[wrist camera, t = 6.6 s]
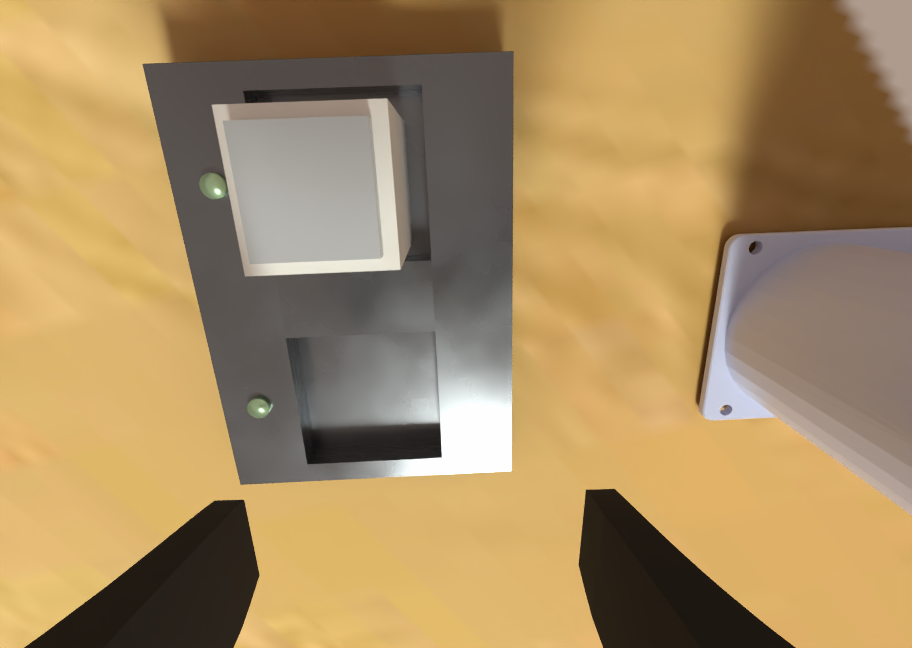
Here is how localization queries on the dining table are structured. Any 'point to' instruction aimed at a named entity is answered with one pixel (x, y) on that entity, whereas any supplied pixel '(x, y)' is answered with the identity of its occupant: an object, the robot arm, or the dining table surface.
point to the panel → (360, 277)
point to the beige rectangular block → (317, 185)
